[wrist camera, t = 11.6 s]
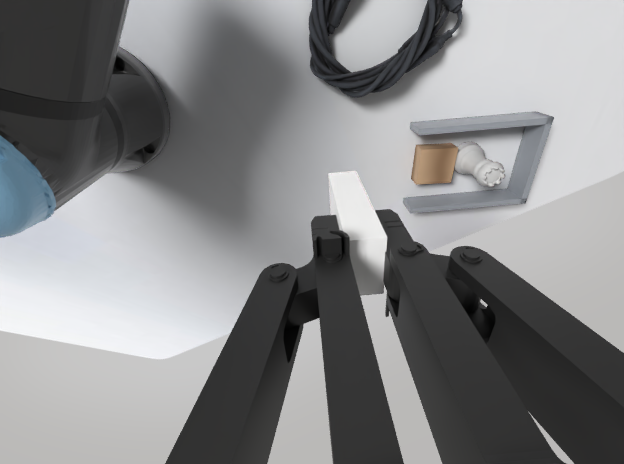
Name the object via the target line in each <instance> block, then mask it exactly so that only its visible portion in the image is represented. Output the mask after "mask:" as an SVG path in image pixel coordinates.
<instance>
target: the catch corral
mask: <svg viewBox="0 0 624 464" xmlns="http://www.w3.org/2000/svg"><path fill="white" fill-rule="evenodd" d="M553 119H554V117H552V116H549V115H546V114H542V113H539V112H524V113H513V114H502V115H490V116H479V117H467V118H456V119H445V120H433V121H422V122H411V124H410V129H411V130H413V131H414V132H415V133H416V134H418V135H430V134H441V133H452V132H464V131H475V130H486V129H498V128H509V127H521V126H525V129H524V133H523V136H522V140H521V143H520V147H519V150H518V153H517V157H516V160H515V164H514V167H513V171H512V174H511V178H510V181H509V184H508V188H507V189H499V190H488V191H476V192H465V193H454V194H442V195H431V196H420V197H408V198H403V203H404V205H405V206H406V208H407V209H408V211H409V212H410V213H421V212H432V211H443V210H455V209H466V208H477V207H489V206H500V205H511V204H523V203H526V200H527V197H528V194H529V191H530V188H531V185H532V182H533V179H534V176H535V173H536V170H537V167H538V164H539V161H540V158H541V155H542V152H543V149H544V146H545V143H546V140H547V137H548V134H549V131H550V128H551V125H552V122H553Z"/></svg>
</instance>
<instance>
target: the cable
mask: <svg viewBox="0 0 624 464" xmlns="http://www.w3.org/2000/svg"><path fill="white" fill-rule="evenodd" d="M462 1H463V0H428V1H427V4H426V7H425V10H424V13H423V16H422V19H421V22H420V25H419V28H418V30H417V32H416V33H415V34H414V35H412V36H411V37H410V38H409V39H408V40H407V41H406V42H405V43H404V44H403V45H402V47H401V48H400V49H399V50H398V53H397V54H396V55H394V56H393V57H391V58H390V59H388V60H386V61H384V62H383V63H381V64H378V65H376V66H374V67H372V68H369V69H366V70H363V71H358V72H353V73H352V72H350V71H348V70H347V69H346V68H345V67H343V66H342V65H341V64H340V63H339V62H338V61H336V60H335V59H334V57H333V56H332V52H331V47H330V42H329V37H328V36H329V34H333V32H334V30H335V28H336V27H338V26H339V24H340V21H341V20H342V18H343V15H344V13H345V11H346V9H347V6H348V4H349V2H350V0H312V10H311V12H310V16H309V30H310V35H309V44H310V50H311V54H312V57H311V61H310V68H311V70H312V72H313V73H314V75H315V76H317V77H319V78H321V79H323V80H324V81H325V82H327V83H328V84H330V85H332V86H335V87H338V88H339V89H340V90H341V91H342V92H343V93H344V94H346V95H348V96H350V97H354V98H358V97H362V96H365V95H367V94H368V93H375V92H380V91H383V90H386V89H388V88H390V87H391V86H393V85H394V84H395V83H396V82H397V81H398V80H399V79H400V78H401V77H402V76H403V75H404V73H407V72H409V71H410V70H412V69H413V68H415V67H416V66H417V65H419V64H421V63H422V62H424V61H425V60H426V59H428V58H429V57H431V56H432V55H434V54H435V53H437V52H438V51H439V50H440V49H441V48H442V47H443V45H444V43H445V41H447V40H448V39H449V38H451V37H452V34H453V33H454V32H455V31H456V30H457V29H458V27H459V26H460V24H461V21H462V12H461V8H462ZM443 4H444V6H445V9H444V11H443V14H442V15H441V16H440V13H441V9H442V5H443ZM449 11H450V12H453V13H457V15H458V21H457V24H456V25H455V26H454V28H453V29H451V30H448V31H447V32H445V33H444V34H442V35H439V36H435V34H436V33H437V32H438V30H439V29H440V28H441V26H442V25H443V23H444V22H445V20H446V18H447V16H448V13H449Z"/></svg>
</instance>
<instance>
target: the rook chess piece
mask: <svg viewBox="0 0 624 464" xmlns="http://www.w3.org/2000/svg"><path fill="white" fill-rule="evenodd" d="M454 170H455V171H457V172H458V173H461V174H472V175H473V176H474V178H475V179H477V181H478V183H479V184H480V185H481V186H484V187H486V186H489V187H494V184H497V185H499V184H500V183H501V181H500V179H501V178H503V179H504V178H505V174H503V173H504V172H505V171H504V168H503V166H502V164H501V163H498V162H493V161H492V160H489V159H488V160H487V159H486V158H485V154H484V150H483V149H482V148H481V147H480V146H479V145H478V144H477V143H474V142H465V143H463V144H460V145H459V146H458V152H457V157H456V162H455V166H454Z"/></svg>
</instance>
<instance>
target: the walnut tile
mask: <svg viewBox="0 0 624 464" xmlns="http://www.w3.org/2000/svg"><path fill="white" fill-rule="evenodd" d="M457 152H458V147H457V146H455V145H454V144H452V143H443V144H424V145H416V148H415V155H414V162H413V169H412V176H411V179H412V180H413V181H414V183H415V184H416V185H417V184H434V183H451V180H452V175H453V171H454V166H455V162H456V157H457Z"/></svg>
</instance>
